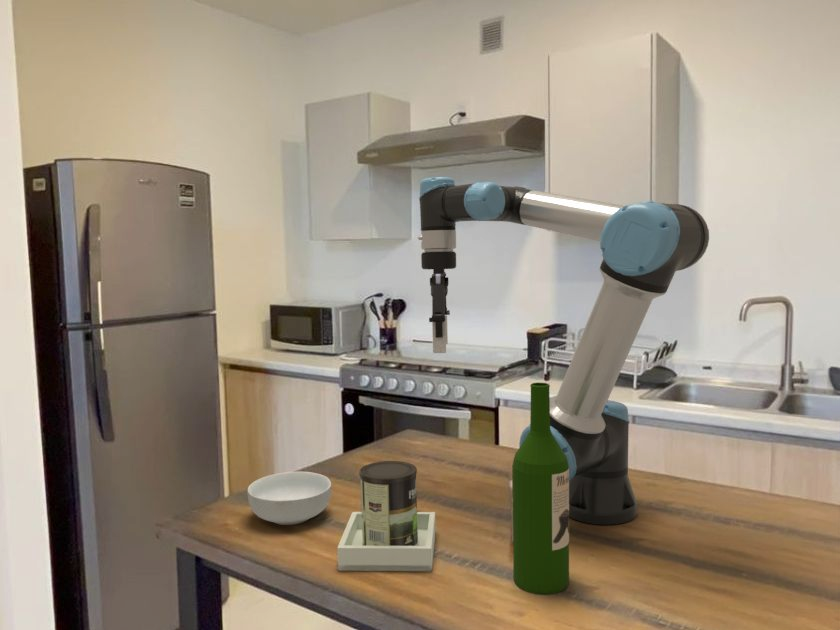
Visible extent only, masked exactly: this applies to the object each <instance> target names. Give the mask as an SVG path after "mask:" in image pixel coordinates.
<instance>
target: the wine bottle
mask: <svg viewBox="0 0 840 630" xmlns="http://www.w3.org/2000/svg"><path fill="white" fill-rule="evenodd" d="M529 387H530V423H529V425H530V431H529V434H528V435H527V437H526V438H525V440H524V441H523V443H522V444H521V446H520V448H519V447H518V449H517V451H515V454H514V457H513V463H512V544H513V545H512V548H513V550H512V551H513V552H512V554H513V555H512V556H513V559H512V560H513V561H512V562H513V564H512V565H513V567H512V568H513V580H514V583H515V584H516V586H518V587H519V588H520V589H521V590H523V591H526V592H529V593H533V594H537V595H553V594H557V593H560V592H563V591H564V590H565V589H567V587H568V585H569V583H570V517H569V465H568V461H567V457H566V455H565V454H564V452H563V450H562V449H561V447H560V446H559V444H558V443H557V441H556V439H555V438H554V436H553V435H552V433H551V430H550V387H551V386H550V384H549V383H547V382H532V383H531V384H530V386H529Z"/></svg>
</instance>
